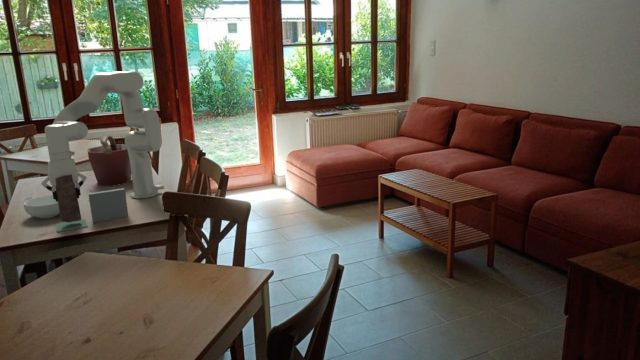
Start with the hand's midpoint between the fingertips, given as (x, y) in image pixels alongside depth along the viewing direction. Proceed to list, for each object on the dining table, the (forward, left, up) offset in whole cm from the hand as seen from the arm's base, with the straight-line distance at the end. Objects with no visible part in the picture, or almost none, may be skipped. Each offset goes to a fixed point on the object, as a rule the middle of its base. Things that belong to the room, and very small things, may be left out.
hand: (67, 198), depth 200 cm
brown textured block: (0, 0, -10) cm, 10 cm away
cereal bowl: (+8, -21, -12) cm, 25 cm away
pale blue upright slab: (-15, -1, -12) cm, 19 cm away
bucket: (-24, -65, -12) cm, 70 cm away
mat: (0, 0, -12) cm, 12 cm away
